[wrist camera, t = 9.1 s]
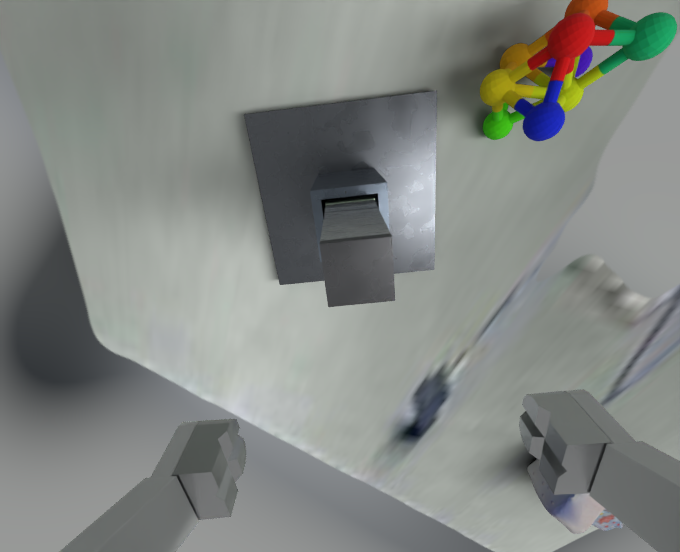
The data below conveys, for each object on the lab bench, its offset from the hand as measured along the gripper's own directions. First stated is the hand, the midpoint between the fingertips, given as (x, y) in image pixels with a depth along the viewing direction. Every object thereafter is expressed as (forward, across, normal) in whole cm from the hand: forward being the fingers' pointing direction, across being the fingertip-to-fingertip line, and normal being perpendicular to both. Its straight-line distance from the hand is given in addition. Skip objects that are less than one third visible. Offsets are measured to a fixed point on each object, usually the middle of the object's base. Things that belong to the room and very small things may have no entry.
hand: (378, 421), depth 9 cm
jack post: (+27, 0, 0) cm, 27 cm away
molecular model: (+33, -19, -10) cm, 39 cm away
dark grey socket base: (+32, 0, 0) cm, 33 cm away
